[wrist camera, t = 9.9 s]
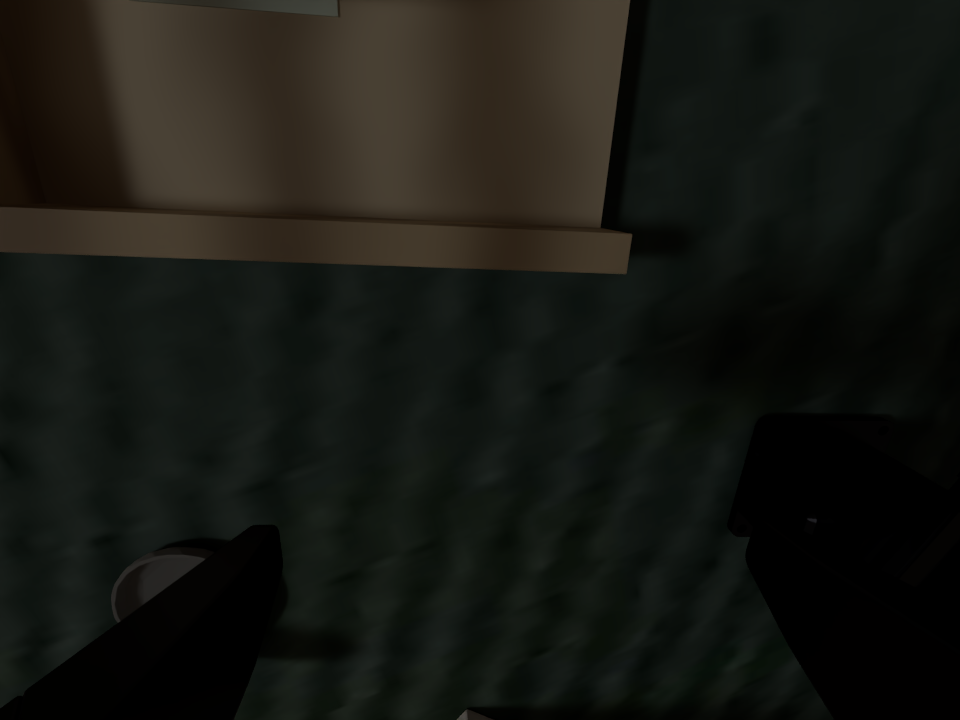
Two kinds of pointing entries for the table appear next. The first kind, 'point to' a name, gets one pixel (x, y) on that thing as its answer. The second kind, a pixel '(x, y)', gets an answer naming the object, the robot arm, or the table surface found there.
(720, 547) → the table surface
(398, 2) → the board
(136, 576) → the pocket watch
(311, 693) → the table surface
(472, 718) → the milk
